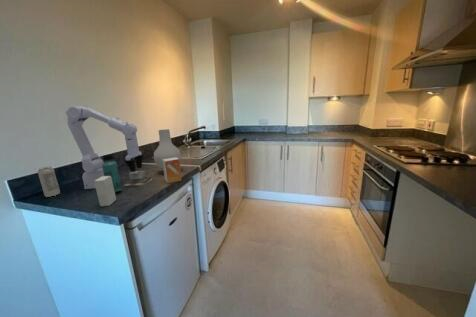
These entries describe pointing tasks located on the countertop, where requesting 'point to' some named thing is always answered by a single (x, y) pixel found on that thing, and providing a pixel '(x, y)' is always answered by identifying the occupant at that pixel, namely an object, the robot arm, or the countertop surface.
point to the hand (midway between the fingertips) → (136, 169)
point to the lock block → (137, 175)
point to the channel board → (138, 182)
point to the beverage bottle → (112, 171)
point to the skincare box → (105, 190)
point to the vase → (165, 148)
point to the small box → (172, 170)
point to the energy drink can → (48, 181)
